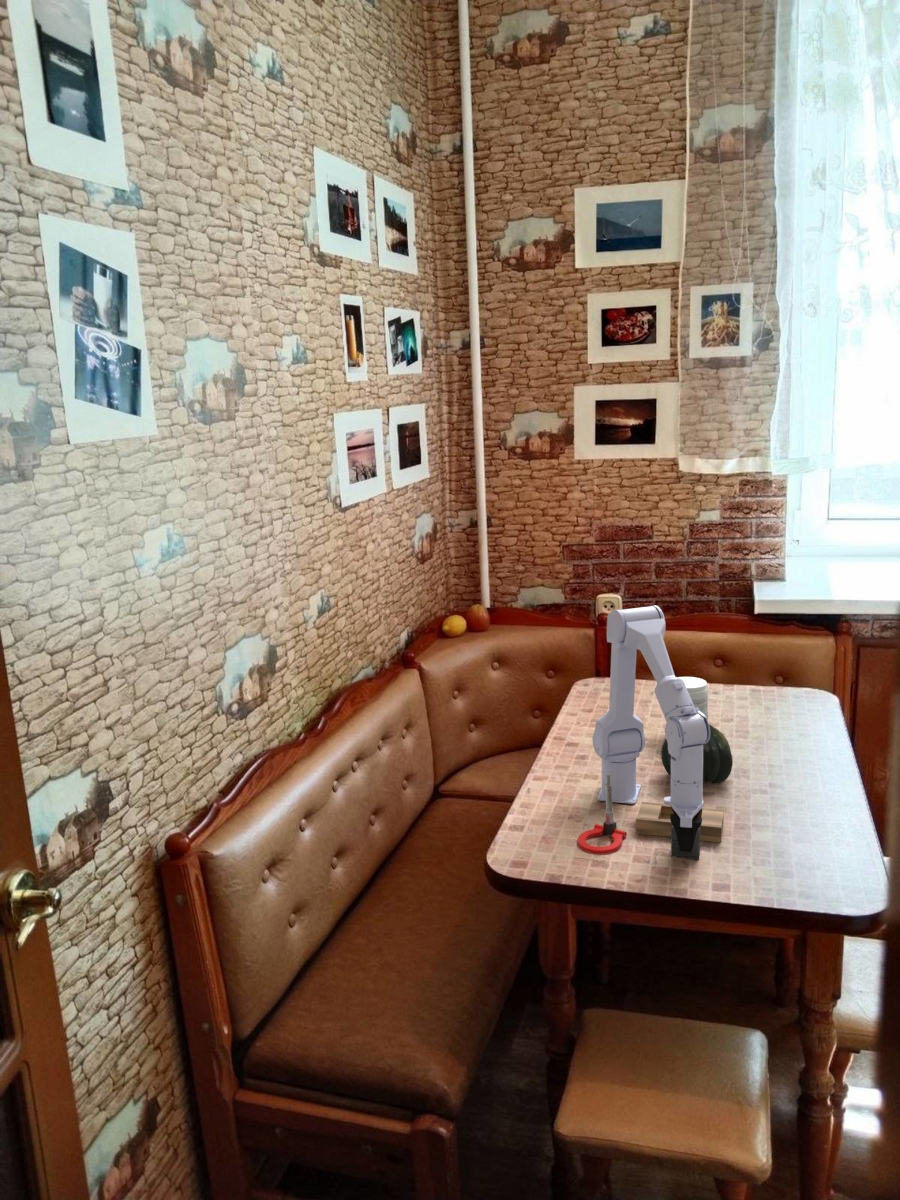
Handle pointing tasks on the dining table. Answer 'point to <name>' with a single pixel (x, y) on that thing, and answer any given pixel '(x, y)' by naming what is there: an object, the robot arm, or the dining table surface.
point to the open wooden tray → (658, 823)
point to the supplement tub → (697, 693)
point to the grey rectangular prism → (687, 855)
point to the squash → (708, 758)
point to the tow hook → (604, 828)
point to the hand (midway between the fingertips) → (685, 846)
